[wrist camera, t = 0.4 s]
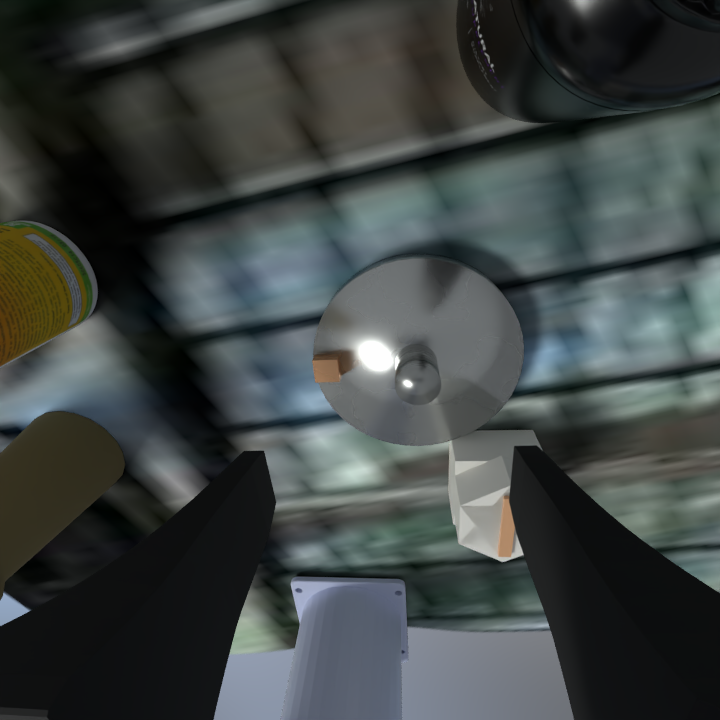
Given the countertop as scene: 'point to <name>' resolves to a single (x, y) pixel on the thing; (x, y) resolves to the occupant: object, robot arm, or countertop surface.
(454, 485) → the white faceted lump
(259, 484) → the robot arm
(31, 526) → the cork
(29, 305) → the supplement bottle
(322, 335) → the knobbed pot lid
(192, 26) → the countertop surface
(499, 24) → the supplement bottle
